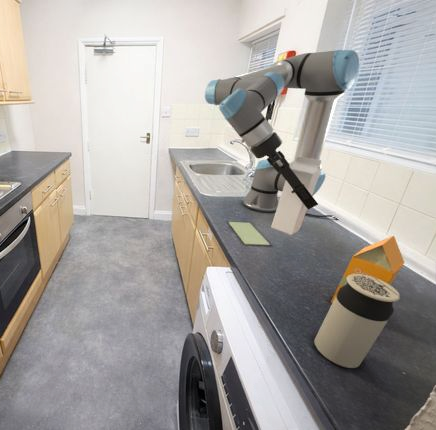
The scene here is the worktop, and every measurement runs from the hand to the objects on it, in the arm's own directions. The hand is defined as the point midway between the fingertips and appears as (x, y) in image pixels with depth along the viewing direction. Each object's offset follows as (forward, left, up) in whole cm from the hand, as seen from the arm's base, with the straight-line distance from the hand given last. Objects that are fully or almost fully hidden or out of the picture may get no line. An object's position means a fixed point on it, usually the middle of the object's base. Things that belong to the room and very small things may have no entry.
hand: (308, 200), depth 77 cm
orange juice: (-9, +17, -23) cm, 30 cm away
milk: (+3, -1, -10) cm, 11 cm away
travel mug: (+6, +32, -23) cm, 40 cm away
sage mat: (+4, -21, -22) cm, 31 cm away
